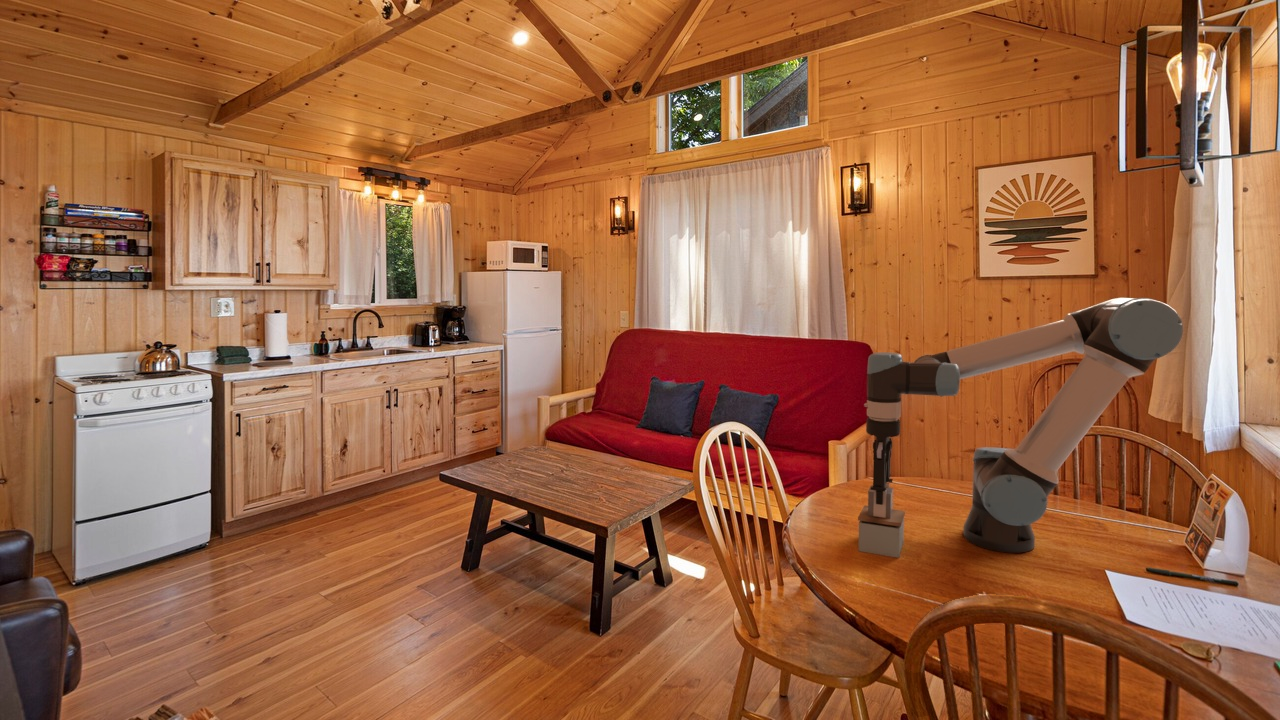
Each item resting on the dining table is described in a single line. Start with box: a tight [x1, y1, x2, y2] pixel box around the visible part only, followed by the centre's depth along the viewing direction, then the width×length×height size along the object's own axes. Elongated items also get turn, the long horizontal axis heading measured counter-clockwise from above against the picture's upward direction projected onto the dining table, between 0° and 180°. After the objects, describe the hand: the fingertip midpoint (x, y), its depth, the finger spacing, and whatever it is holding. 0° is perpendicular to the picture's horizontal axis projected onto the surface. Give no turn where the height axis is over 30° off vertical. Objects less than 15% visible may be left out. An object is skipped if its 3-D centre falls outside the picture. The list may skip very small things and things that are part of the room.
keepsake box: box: [857, 517, 905, 559], centre depth 147 cm, size 9×10×7 cm
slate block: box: [867, 484, 894, 518], centre depth 146 cm, size 5×5×6 cm
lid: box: [857, 505, 906, 527], centre depth 147 cm, size 9×10×1 cm
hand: (881, 512), depth 146 cm, fingers closed on slate block, 5 cm apart
